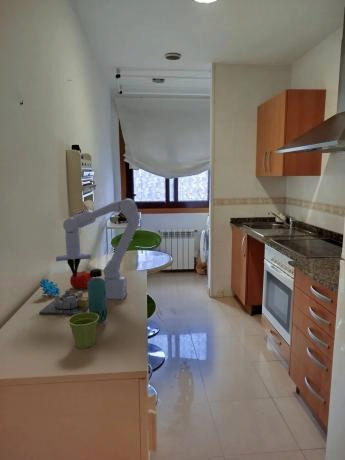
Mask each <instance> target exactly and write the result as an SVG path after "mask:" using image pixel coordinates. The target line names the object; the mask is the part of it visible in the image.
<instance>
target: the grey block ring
mask: <svg viewBox="0 0 345 460" xmlns="http://www.w3.org/2000/svg"><path fill="white" fill-rule="evenodd" d="M66 293H71V289H65V290H64V294H66ZM73 293H74V294H76V299H75V300H72V296H69V297H67V301H62V297H61V296H62V295H63V294H60V293H59V294H58V295H55V294H54V296H53V297H54V300H53V301H54V304H55V307H56V308H59V309H70V308H75V307H78V306H79V307H88V306H89V300H88V298H83V297H84V295H83V294H84V293H83V290H80V291H77V293H76V292H73Z"/></svg>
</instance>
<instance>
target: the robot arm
mask: <svg viewBox="0 0 345 460" xmlns="http://www.w3.org/2000/svg"><path fill="white" fill-rule="evenodd" d="M112 212H114V213H120V212H121V213H122V214H123V216H125V219H126V222H127V225H126V226H125V229H124V231H123V234H122V235H121V238H120V240H119V241H118V243H117V245H116V248H115V250H114V252H113V255H112V257H111V258H110V260H109V261H107V263H106V266H105V267H104V268H103V275H104V276H103V280H104V281H105V288H106V289H105V291H106V300H125V299H124V298H125V297H126V296H127V294H128V285H127V284H128V282H127V278H126V277H125V276H122V274H121V273H120V269H121V264H122V261H123V258H124V256H125V255H126V253H127V249H128V248H129V246H130V244H131V241H132V239H133V237H134V235H135V233H136V231H137V229H138V227H139V225H140V216H139V215H140V214H139V211H138V206H137V204H136V201H135V200H134V199H132V198H128V197H126V198H125V199H123V200H122V199H121V200H116V201H113V202H111V203H109V204H105V205H104V206H102V207H100V208H97V209H95V210H94V211H93V210H91V209H88V210H87V209H85V210H83V211H82V212H80V213H79V214H73V215H72V217H68V218H67V219H66V220H64V222H63V225H62V227H63V229H64V230H65V232H64V233H65V250H66V254H64V255H56V256H55V262H60V261H61V262H62V261H64V262H65V261H66V263H67V265H68V267H69V268H70V270H71V273H72V275H73V277H76V276H77V272H78V268H79V265H80V263H81V260H91V259H92V254H91V253H81V241H80V231H79V230H80V229H81V228H84V227H86V226H88V225H89V226H90V225H91V224H93V223H94V224H95V222H96V219H97V218H99V217H102V216H105V215H107V214H109V213H110V214H111V213H112Z"/></svg>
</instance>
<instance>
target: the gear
mask: <svg viewBox="0 0 345 460" xmlns="http://www.w3.org/2000/svg"><path fill="white" fill-rule="evenodd" d="M39 284H40V285H39V287H40V288H42V292H43V293H42V294H45V295H46V294H47V295H48V296H49V295H50V297H55V296H54V295H58V294H59V295H60V293H61V292H60V288H59V287H58V282H56V283H55V284H54V280H51V281H50V279H48V278H42V279H41V280H40V281H39Z"/></svg>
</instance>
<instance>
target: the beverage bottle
mask: <svg viewBox="0 0 345 460" xmlns="http://www.w3.org/2000/svg"><path fill="white" fill-rule="evenodd" d="M89 272H90V277H93V278H92V279H90V280H89V281H88V283H87V285H88V287H87V297H88V300H89V308H88V312H91V313H96V314H98V315H99V320H98V323H97V324H102V323H104V322H106V321H107V319H108V309H107V307H108V306H107V299H106V291H105V289H106V288H105V281H104V278H101V277H102V276H103V274H102V270H101V269H100V268H94V269H90V270H89Z"/></svg>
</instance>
